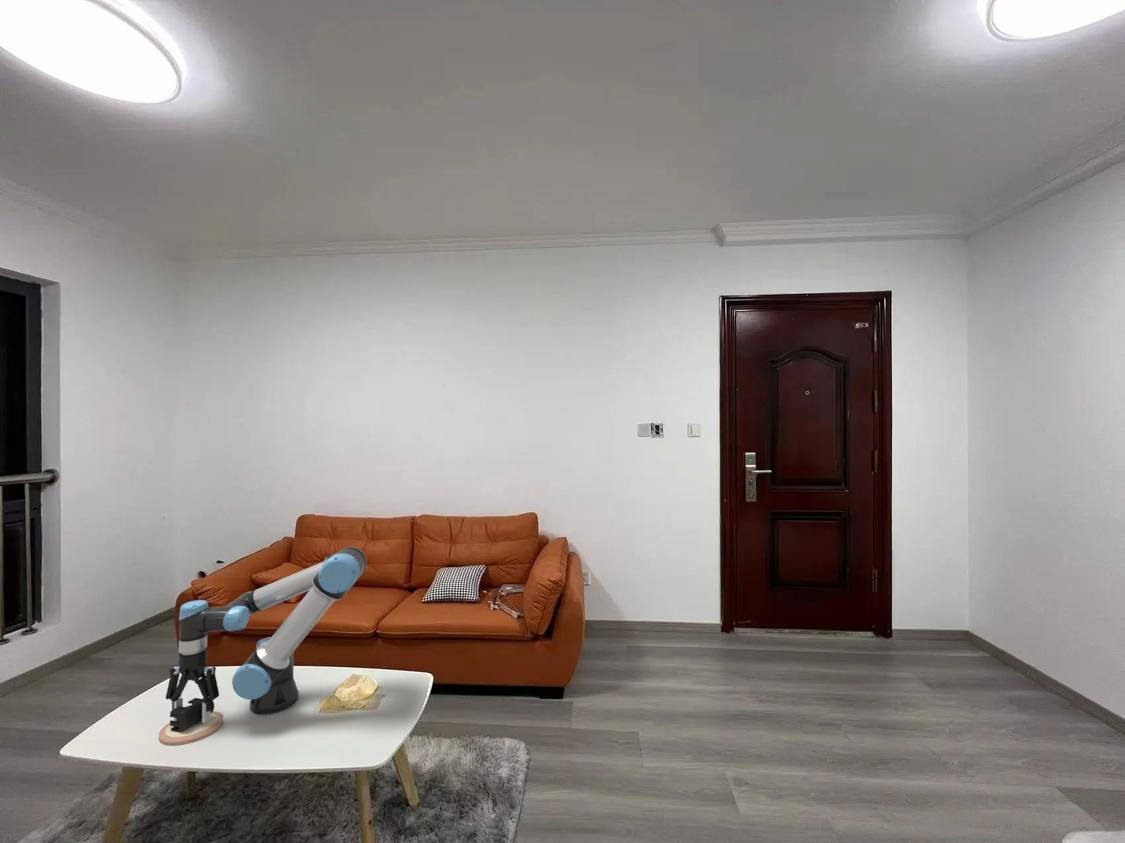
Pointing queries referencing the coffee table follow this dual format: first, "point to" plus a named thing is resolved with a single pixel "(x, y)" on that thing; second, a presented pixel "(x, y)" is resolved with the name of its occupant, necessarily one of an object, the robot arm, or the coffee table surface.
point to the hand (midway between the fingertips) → (192, 720)
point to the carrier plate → (191, 731)
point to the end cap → (187, 715)
